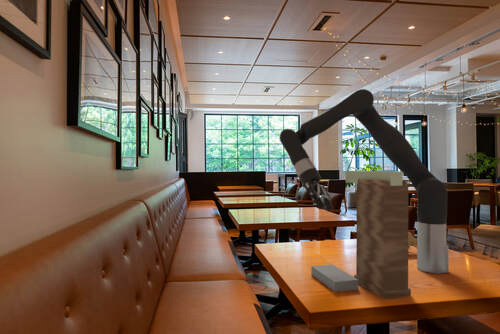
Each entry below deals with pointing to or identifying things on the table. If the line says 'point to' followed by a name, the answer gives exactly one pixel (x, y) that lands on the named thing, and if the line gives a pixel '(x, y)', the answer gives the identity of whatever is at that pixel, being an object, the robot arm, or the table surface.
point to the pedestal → (382, 238)
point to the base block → (334, 278)
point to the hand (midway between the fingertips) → (326, 209)
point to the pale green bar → (376, 176)
